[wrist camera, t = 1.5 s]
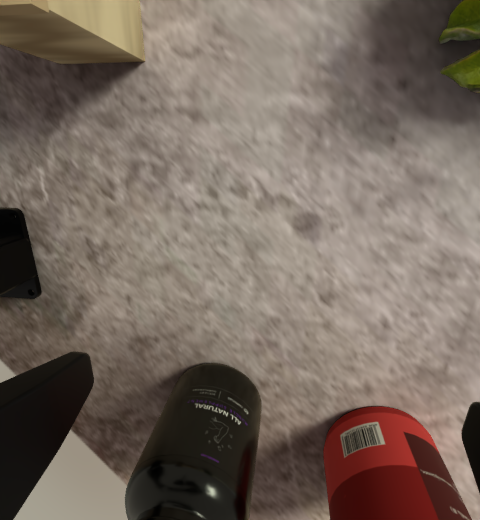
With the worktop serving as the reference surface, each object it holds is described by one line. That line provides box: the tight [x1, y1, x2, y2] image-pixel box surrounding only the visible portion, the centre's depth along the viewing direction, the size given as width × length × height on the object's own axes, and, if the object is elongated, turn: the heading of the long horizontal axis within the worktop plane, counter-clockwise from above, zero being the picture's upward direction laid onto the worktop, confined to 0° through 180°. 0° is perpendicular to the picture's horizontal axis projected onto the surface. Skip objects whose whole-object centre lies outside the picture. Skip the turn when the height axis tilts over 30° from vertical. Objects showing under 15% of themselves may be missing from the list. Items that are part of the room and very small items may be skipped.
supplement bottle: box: [125, 363, 261, 520], centre depth 20 cm, size 7×7×12 cm
